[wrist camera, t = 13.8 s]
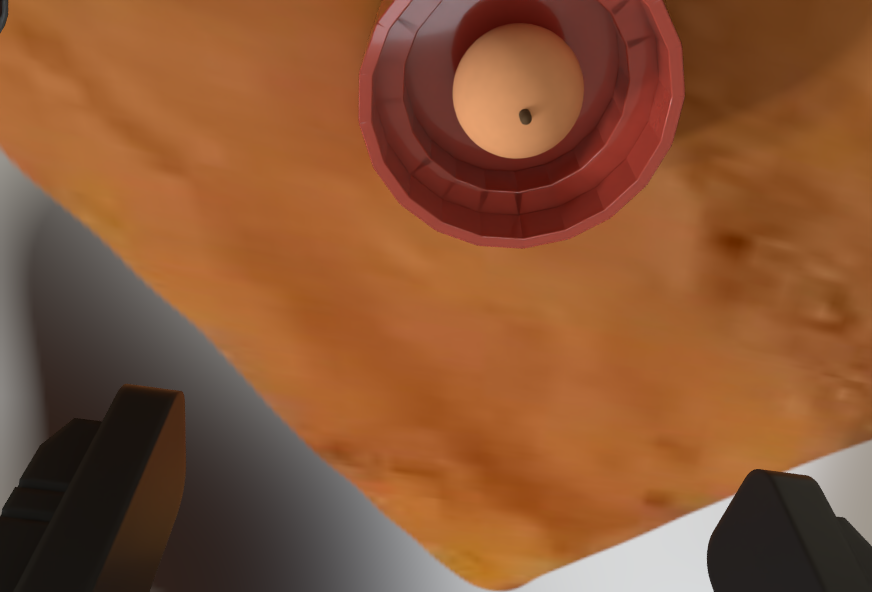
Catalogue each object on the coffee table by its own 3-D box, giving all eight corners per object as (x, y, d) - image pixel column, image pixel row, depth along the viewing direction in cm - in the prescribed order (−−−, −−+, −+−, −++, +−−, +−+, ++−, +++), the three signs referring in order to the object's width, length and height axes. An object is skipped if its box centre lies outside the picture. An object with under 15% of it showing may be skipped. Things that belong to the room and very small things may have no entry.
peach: (425, 80, 37) (425, 129, 32) (508, -19, 35) (524, 15, 29) (514, 153, 40) (528, 211, 34) (598, 65, 37) (628, 111, 31)
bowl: (312, 86, 38) (295, 127, 34) (503, -165, 32) (513, -155, 28) (515, 242, 43) (524, 296, 39) (714, 52, 37) (752, 90, 33)
